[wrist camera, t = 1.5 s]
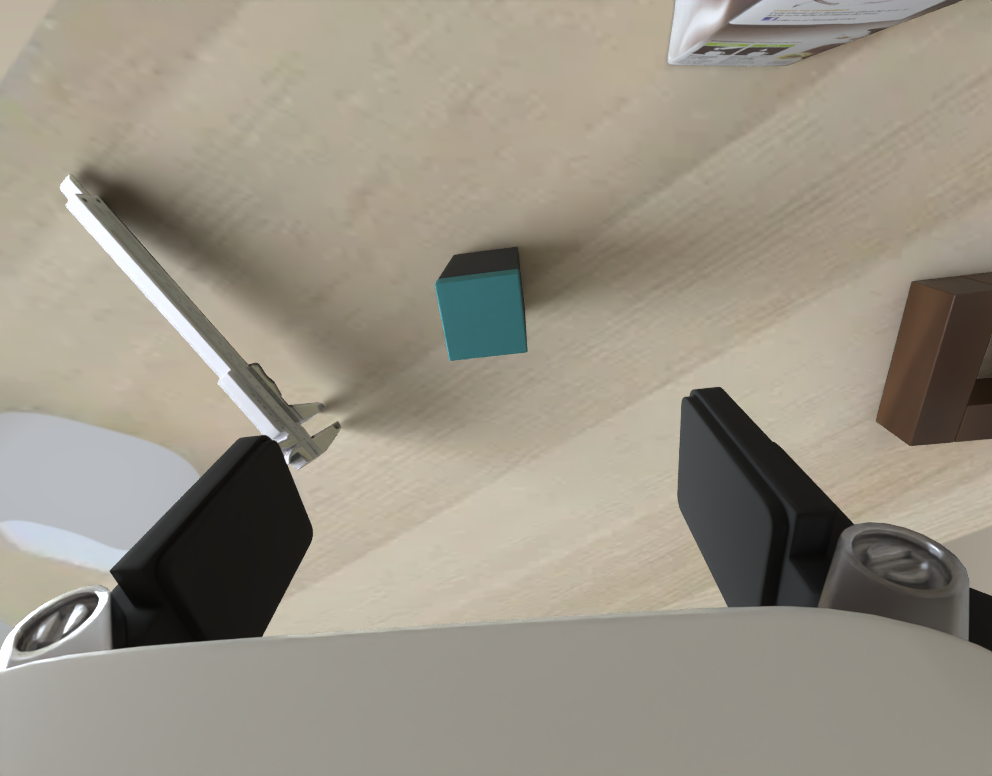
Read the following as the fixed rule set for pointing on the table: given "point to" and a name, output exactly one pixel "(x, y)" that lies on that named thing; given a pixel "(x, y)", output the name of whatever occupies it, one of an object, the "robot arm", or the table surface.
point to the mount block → (941, 363)
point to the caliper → (202, 334)
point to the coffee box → (779, 28)
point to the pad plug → (482, 304)
